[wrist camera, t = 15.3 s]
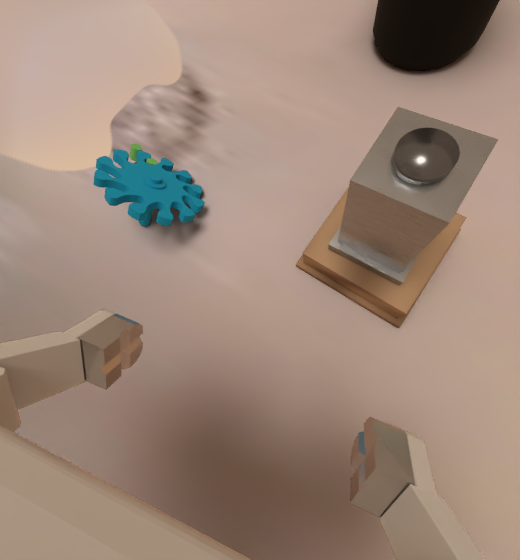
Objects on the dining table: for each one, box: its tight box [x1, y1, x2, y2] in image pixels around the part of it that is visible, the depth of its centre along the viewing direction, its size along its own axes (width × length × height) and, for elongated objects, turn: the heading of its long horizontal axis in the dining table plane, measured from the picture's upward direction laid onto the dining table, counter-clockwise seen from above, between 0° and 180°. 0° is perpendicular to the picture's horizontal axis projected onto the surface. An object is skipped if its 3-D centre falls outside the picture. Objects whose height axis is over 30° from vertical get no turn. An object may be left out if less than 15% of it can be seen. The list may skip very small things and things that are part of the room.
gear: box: [94, 144, 205, 226], centre depth 29 cm, size 11×6×10 cm
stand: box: [296, 187, 466, 328], centre depth 24 cm, size 10×10×3 cm
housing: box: [328, 107, 498, 286], centre depth 18 cm, size 6×6×10 cm
